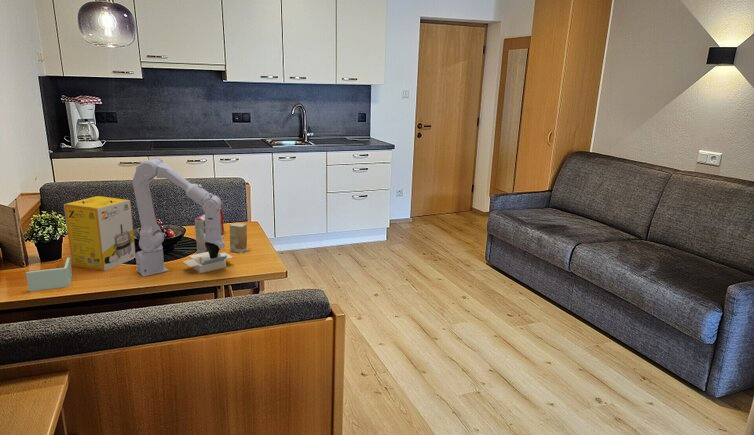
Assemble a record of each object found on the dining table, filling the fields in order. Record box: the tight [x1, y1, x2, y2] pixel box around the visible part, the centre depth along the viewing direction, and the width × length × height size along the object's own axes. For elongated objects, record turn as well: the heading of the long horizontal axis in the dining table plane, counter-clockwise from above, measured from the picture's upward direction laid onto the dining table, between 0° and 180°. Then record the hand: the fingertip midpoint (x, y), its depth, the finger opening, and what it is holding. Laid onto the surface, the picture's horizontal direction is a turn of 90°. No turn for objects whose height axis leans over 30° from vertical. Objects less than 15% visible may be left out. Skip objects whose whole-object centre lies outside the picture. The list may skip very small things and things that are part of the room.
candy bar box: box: [194, 213, 208, 254], centre depth 213 cm, size 11×5×16 cm, turn 168°
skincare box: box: [229, 222, 248, 254], centre depth 216 cm, size 6×4×12 cm
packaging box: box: [63, 195, 136, 272], centre depth 196 cm, size 16×16×25 cm
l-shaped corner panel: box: [25, 256, 73, 292], centre depth 177 cm, size 12×12×8 cm
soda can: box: [219, 206, 225, 235], centre depth 238 cm, size 7×7×13 cm
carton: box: [182, 252, 234, 275], centre depth 198 cm, size 18×13×6 cm
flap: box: [202, 255, 227, 265], centre depth 192 cm, size 9×4×1 cm
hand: (214, 260), depth 192 cm, fingers closed, pressing on flap
